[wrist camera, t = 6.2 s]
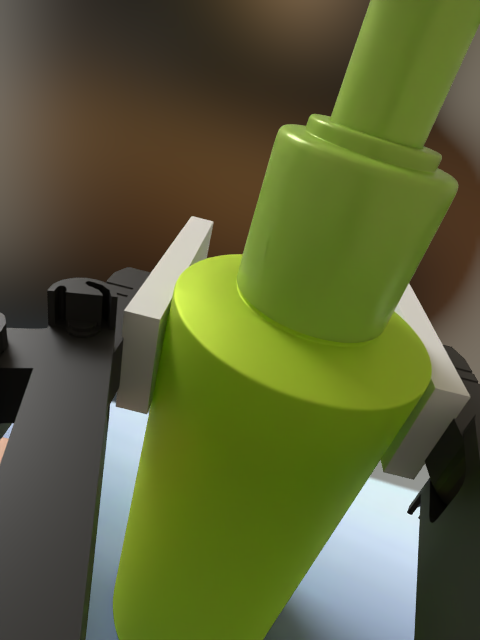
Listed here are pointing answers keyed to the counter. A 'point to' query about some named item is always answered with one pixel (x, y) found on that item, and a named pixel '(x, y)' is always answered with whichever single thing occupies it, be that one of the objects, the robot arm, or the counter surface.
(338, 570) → the counter surface
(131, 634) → the soap dispenser
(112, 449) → the counter surface
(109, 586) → the counter surface
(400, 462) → the robot arm
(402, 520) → the counter surface
